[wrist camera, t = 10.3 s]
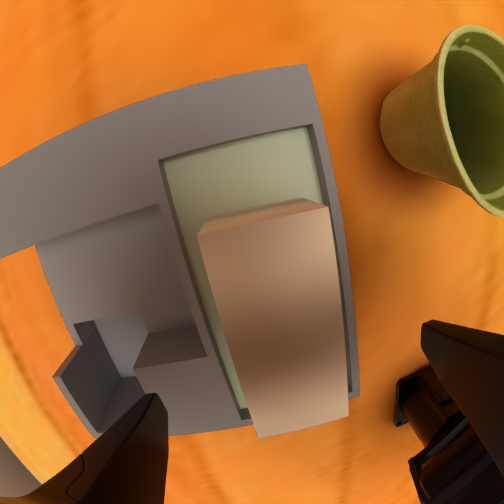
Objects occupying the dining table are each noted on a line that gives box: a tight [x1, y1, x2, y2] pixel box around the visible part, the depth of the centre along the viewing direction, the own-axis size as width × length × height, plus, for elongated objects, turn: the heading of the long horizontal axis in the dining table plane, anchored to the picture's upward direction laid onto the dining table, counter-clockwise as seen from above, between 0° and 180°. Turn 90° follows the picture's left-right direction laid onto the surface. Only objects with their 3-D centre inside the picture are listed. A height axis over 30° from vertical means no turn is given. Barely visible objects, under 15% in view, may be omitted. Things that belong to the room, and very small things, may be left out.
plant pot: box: [379, 25, 504, 218], centre depth 13 cm, size 9×9×9 cm
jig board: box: [0, 64, 360, 438], centre depth 15 cm, size 16×16×6 cm
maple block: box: [197, 197, 349, 439], centre depth 12 cm, size 9×4×4 cm, turn 12°
